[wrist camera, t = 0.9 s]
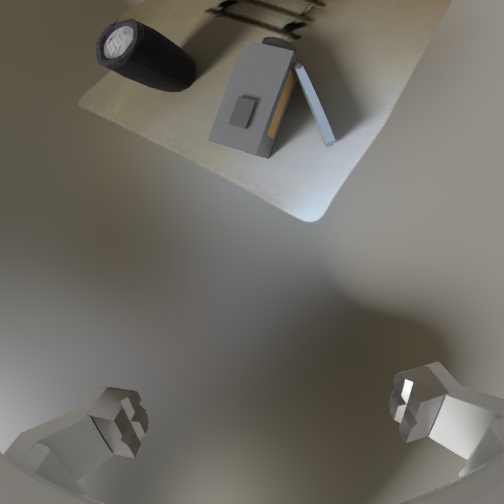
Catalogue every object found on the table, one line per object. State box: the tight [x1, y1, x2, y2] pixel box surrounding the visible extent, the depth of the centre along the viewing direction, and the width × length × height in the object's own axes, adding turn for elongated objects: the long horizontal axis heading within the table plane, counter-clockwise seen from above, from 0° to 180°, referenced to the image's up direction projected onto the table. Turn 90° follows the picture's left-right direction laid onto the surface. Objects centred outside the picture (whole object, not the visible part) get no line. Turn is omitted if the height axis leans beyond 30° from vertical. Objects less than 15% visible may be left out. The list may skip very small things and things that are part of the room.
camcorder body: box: [208, 37, 297, 159], centre depth 37 cm, size 19×7×11 cm, turn 161°
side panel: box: [294, 61, 335, 147], centre depth 36 cm, size 13×1×7 cm, turn 21°
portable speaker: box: [96, 19, 195, 92], centre depth 35 cm, size 9×9×20 cm
